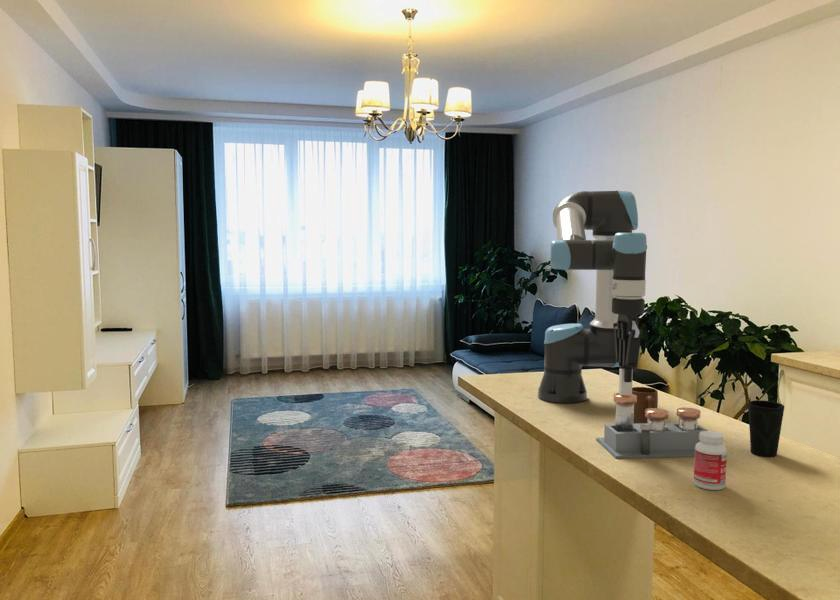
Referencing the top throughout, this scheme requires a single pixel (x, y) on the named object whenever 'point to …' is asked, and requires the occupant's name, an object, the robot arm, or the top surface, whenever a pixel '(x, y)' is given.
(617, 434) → the mount
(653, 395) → the mug
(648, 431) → the pot post
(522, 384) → the top surface
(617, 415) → the knob
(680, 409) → the knob
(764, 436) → the cup
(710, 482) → the pill bottle
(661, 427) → the knob mid
